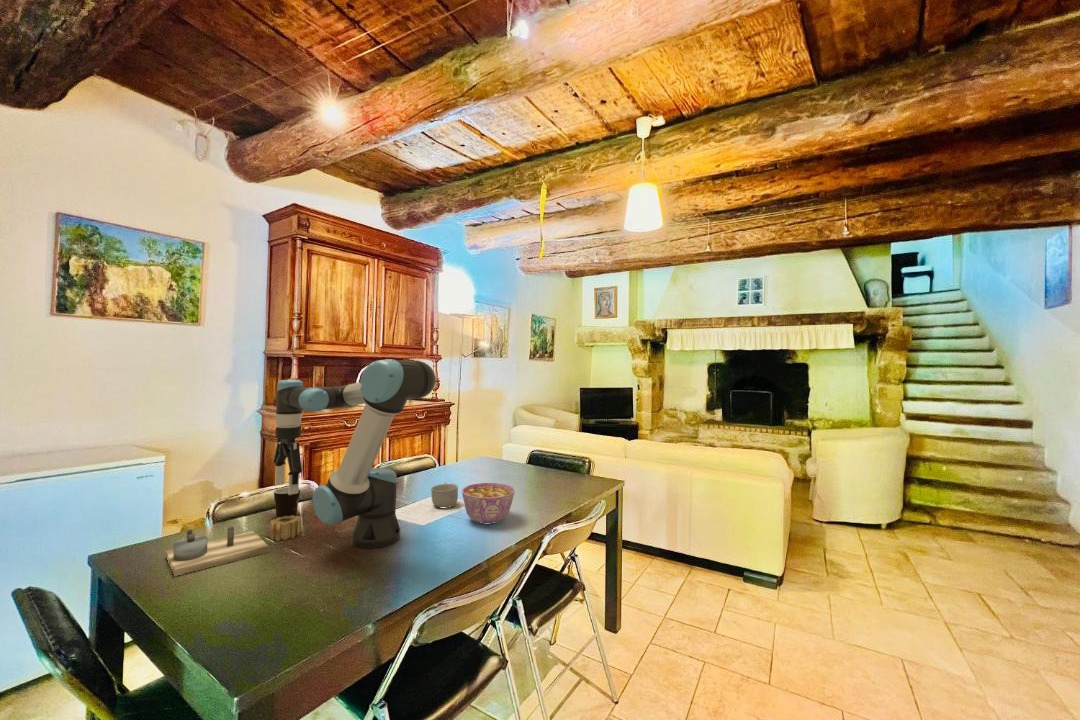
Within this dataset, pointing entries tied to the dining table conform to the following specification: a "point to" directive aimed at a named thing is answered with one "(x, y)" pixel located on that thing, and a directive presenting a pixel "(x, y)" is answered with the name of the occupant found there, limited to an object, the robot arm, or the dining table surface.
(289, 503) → the coffee mug
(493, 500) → the bowl of food
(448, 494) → the teacup
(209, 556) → the birch board
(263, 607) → the dining table surface
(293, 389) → the robot arm
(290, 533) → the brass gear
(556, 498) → the dining table surface
